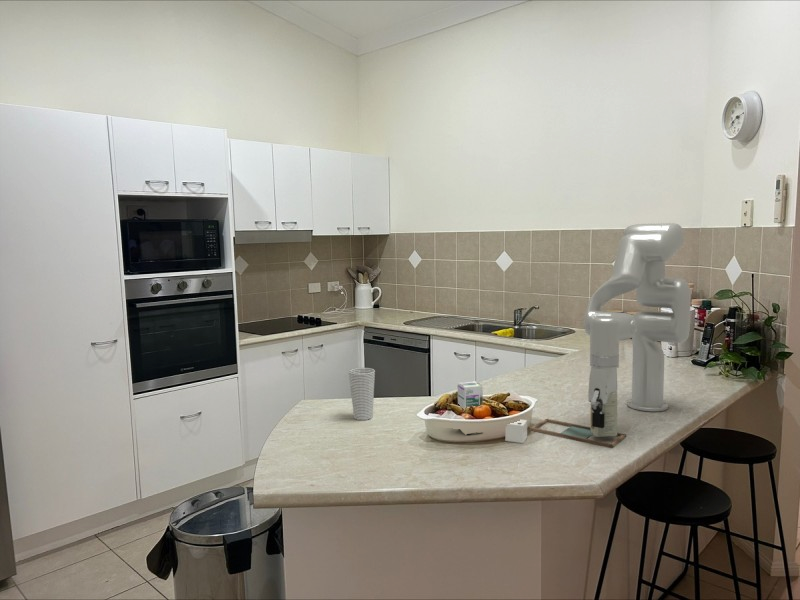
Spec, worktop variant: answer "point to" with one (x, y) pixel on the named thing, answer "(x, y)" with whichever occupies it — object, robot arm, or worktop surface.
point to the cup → (362, 392)
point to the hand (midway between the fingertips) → (603, 422)
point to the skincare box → (607, 418)
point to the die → (516, 431)
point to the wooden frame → (576, 433)
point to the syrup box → (470, 394)
